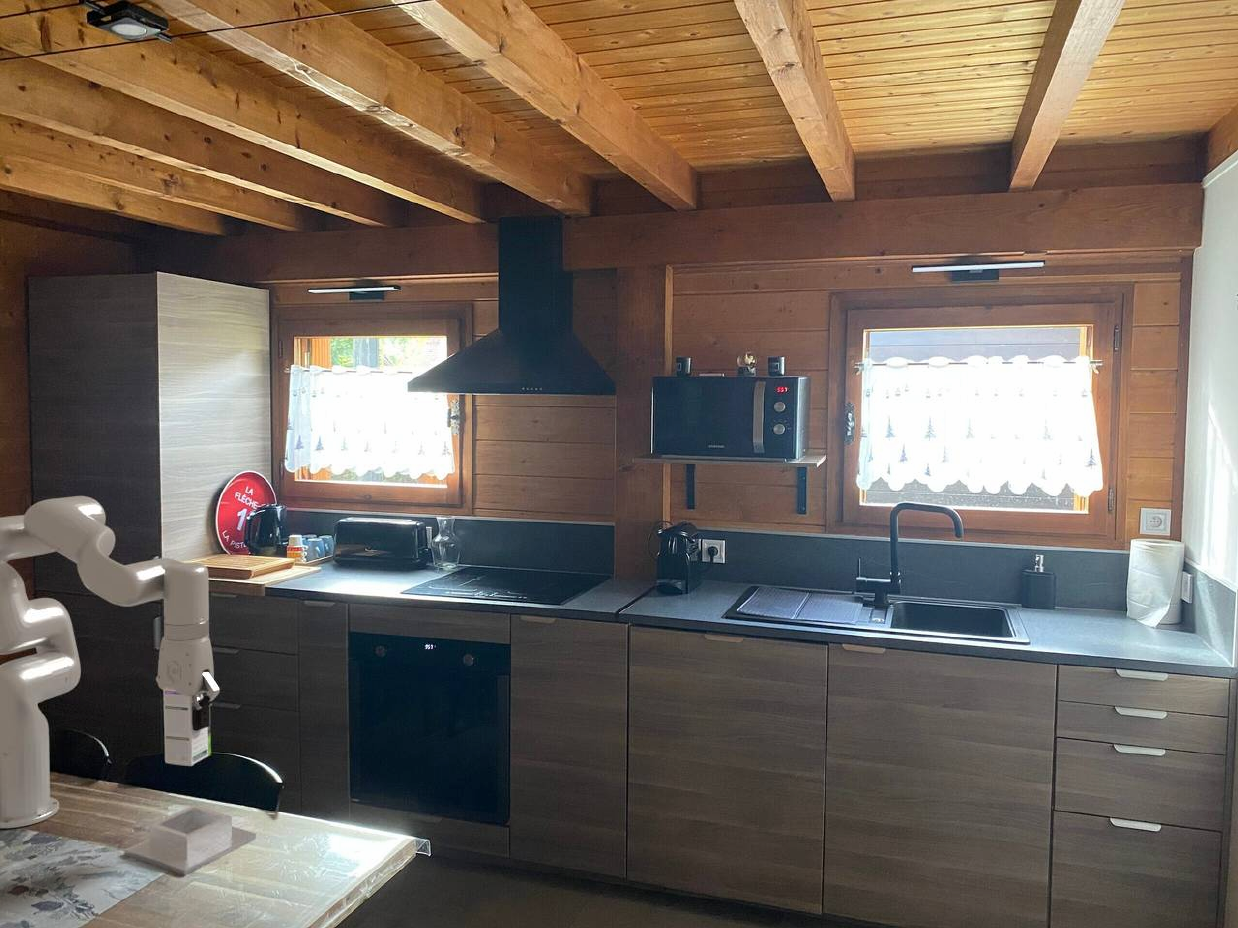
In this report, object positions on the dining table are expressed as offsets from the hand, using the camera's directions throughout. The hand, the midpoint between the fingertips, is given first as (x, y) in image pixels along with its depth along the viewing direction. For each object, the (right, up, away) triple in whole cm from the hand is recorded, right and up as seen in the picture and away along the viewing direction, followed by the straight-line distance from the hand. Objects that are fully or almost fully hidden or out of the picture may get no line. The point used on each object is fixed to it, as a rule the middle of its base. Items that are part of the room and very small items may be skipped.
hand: (187, 724), depth 174 cm
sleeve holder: (0, -24, +2) cm, 24 cm away
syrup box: (0, -7, 0) cm, 7 cm away
